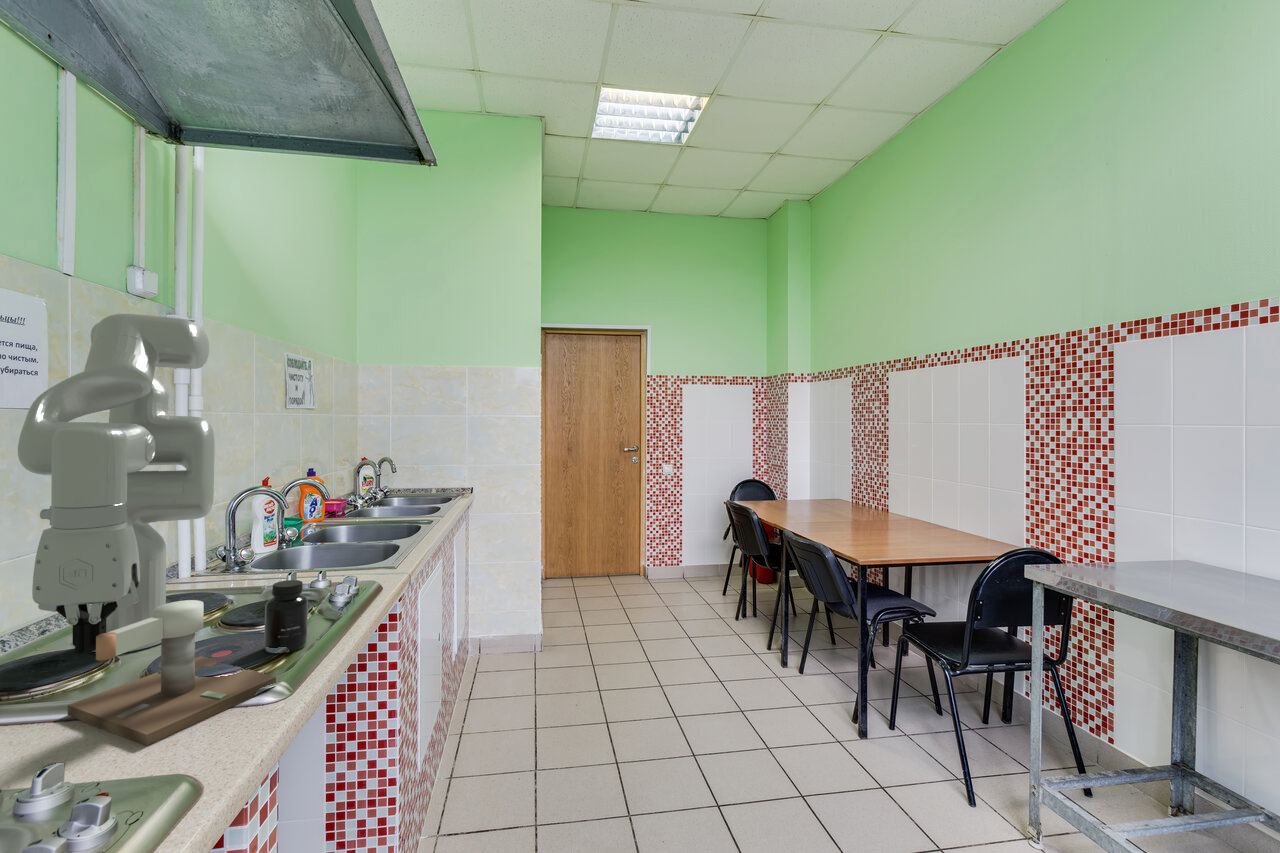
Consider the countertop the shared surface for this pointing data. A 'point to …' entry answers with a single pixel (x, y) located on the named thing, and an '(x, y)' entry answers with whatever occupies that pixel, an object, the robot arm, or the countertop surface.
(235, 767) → the countertop surface
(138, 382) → the robot arm
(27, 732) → the countertop surface
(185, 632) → the cream orange-tipped lever
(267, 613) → the supplement bottle
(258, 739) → the countertop surface
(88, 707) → the base
